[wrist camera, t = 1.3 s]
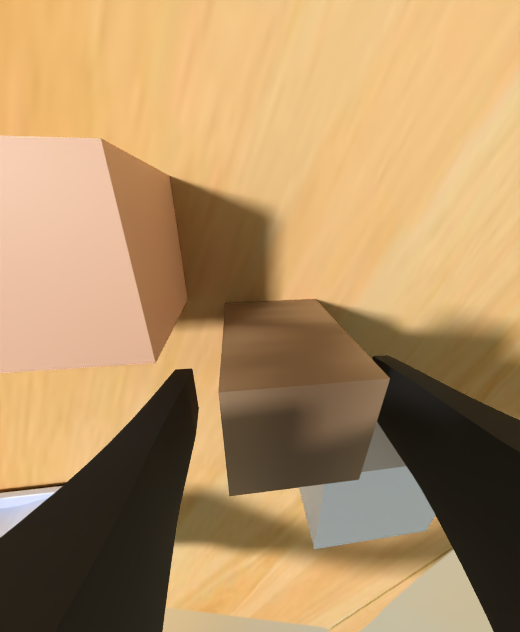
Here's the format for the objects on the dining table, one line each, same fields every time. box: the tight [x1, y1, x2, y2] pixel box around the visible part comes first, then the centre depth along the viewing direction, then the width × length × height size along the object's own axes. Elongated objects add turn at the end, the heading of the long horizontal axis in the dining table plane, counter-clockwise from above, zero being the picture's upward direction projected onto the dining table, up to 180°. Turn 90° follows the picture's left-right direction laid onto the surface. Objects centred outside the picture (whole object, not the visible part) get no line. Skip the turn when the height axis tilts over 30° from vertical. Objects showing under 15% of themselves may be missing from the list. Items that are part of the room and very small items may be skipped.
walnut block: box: [219, 299, 390, 496], centre depth 9 cm, size 4×4×6 cm
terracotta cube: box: [0, 136, 188, 373], centre depth 7 cm, size 5×5×5 cm
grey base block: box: [299, 422, 435, 549], centre depth 15 cm, size 8×8×4 cm
